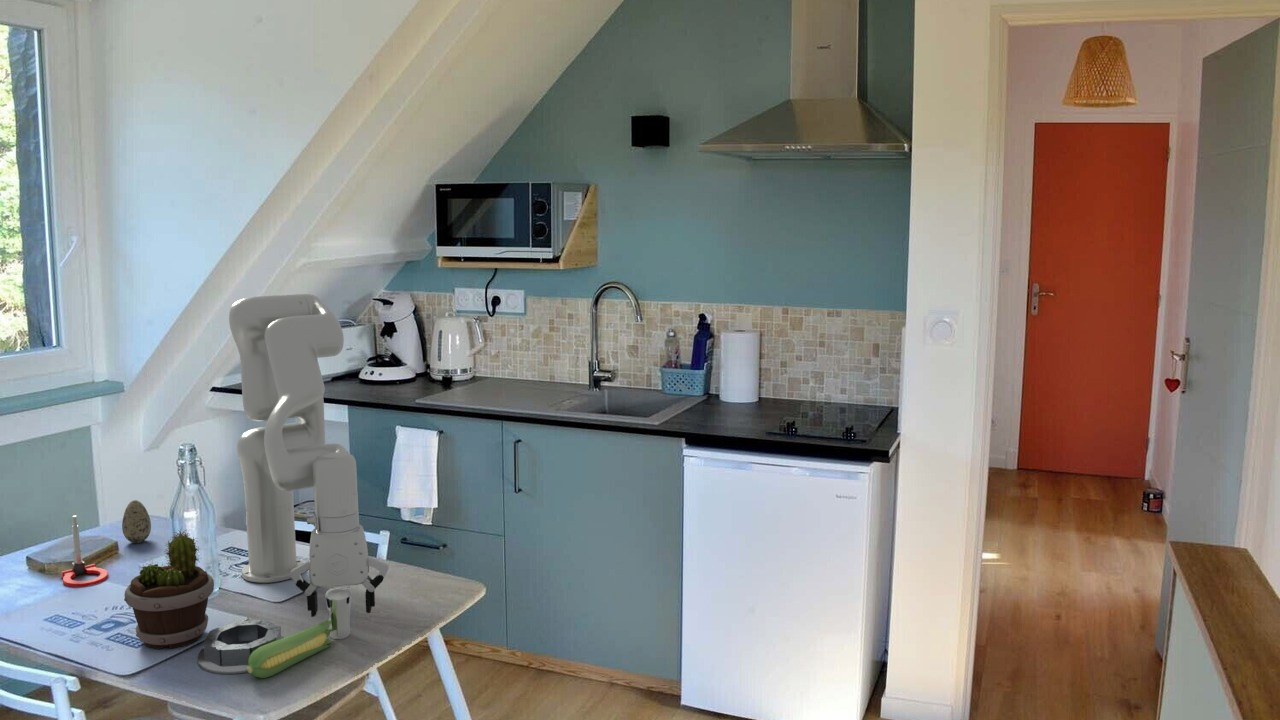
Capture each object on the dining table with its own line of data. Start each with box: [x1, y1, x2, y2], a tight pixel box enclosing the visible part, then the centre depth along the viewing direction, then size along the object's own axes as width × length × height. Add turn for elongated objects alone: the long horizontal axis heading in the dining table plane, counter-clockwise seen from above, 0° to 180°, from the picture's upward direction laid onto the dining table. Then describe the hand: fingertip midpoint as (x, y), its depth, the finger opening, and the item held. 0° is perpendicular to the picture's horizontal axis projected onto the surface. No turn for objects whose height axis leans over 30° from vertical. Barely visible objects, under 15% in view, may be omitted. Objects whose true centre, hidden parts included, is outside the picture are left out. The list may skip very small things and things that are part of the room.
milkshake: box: [325, 585, 352, 640], centre depth 193 cm, size 5×5×10 cm
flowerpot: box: [123, 527, 215, 650], centre depth 190 cm, size 14×15×20 cm
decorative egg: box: [121, 499, 152, 544], centre depth 241 cm, size 6×6×10 cm
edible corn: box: [247, 620, 332, 679], centre depth 183 cm, size 5×20×5 cm
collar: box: [197, 619, 285, 675], centre depth 185 cm, size 15×15×4 cm
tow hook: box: [60, 515, 109, 588], centre depth 218 cm, size 8×13×9 cm
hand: (341, 612), depth 192 cm, fingers open, 9 cm apart
